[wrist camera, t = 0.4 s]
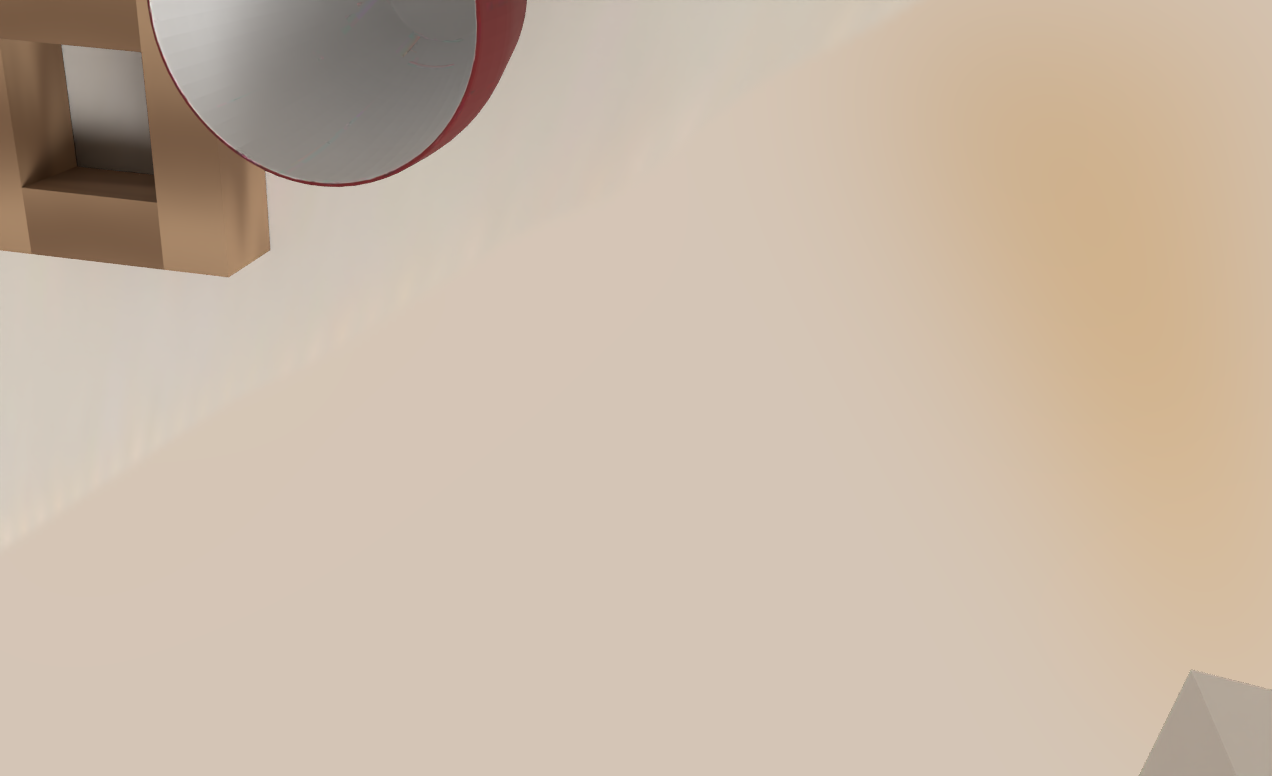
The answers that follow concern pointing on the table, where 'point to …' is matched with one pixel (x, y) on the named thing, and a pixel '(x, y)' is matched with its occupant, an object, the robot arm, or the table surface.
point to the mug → (335, 77)
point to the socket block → (106, 199)
